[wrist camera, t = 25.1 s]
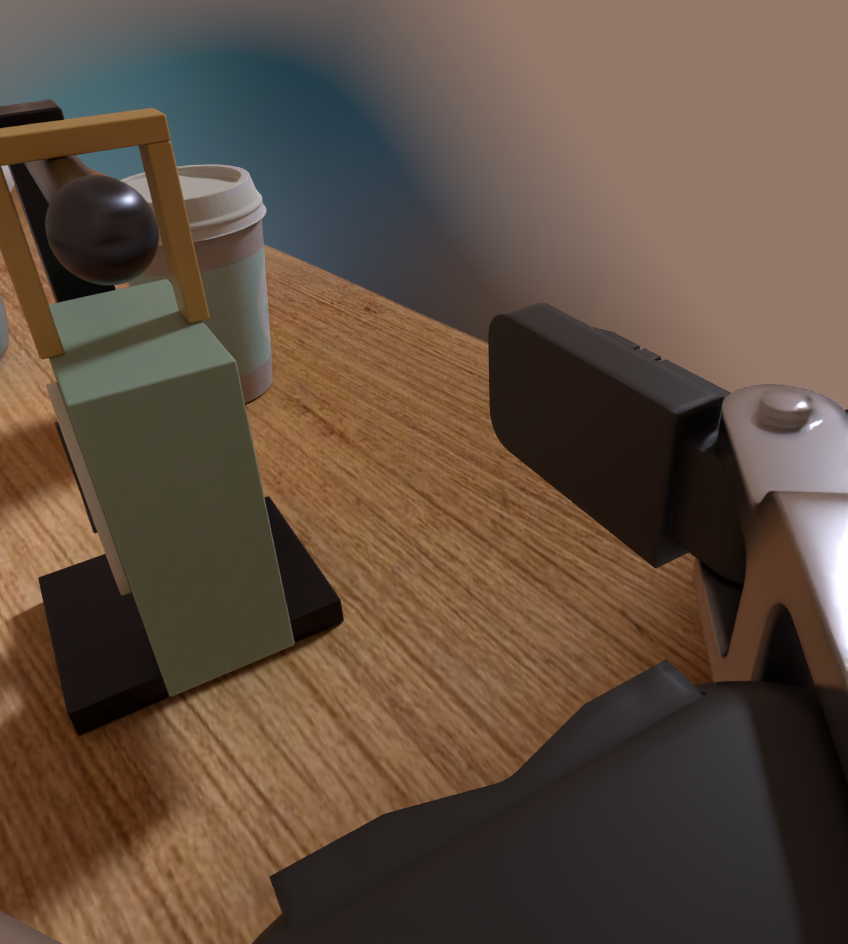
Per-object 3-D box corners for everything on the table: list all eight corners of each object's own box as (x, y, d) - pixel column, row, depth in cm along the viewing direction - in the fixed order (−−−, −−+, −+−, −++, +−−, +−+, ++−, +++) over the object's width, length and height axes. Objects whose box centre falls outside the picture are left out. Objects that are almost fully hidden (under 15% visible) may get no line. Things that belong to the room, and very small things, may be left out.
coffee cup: (311, 400, 45) (276, 187, 38) (161, 437, 43) (95, 216, 36) (277, 344, 52) (242, 154, 45) (145, 373, 49) (87, 177, 43)
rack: (273, 516, 36) (176, 73, 26) (419, 731, 26) (356, 140, 15) (47, 598, 32) (-173, 120, 22) (112, 888, 22) (-246, 250, 12)
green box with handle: (234, 527, 30) (129, 94, 21) (301, 643, 25) (199, 132, 16) (111, 570, 28) (-56, 117, 20) (156, 704, 23) (-44, 168, 15)
